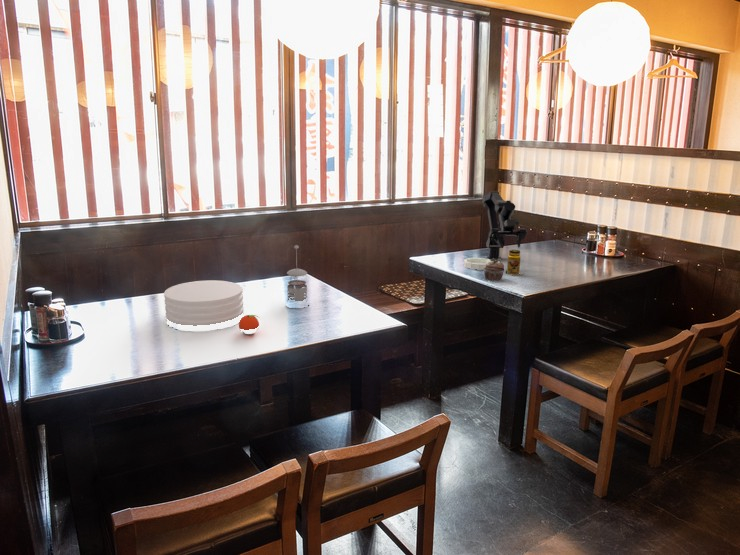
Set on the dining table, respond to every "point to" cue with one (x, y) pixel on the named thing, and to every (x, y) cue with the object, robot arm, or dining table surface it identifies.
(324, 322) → the dining table surface
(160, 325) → the dining table surface
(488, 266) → the cupcake
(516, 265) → the condiment
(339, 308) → the dining table surface
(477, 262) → the bowl
